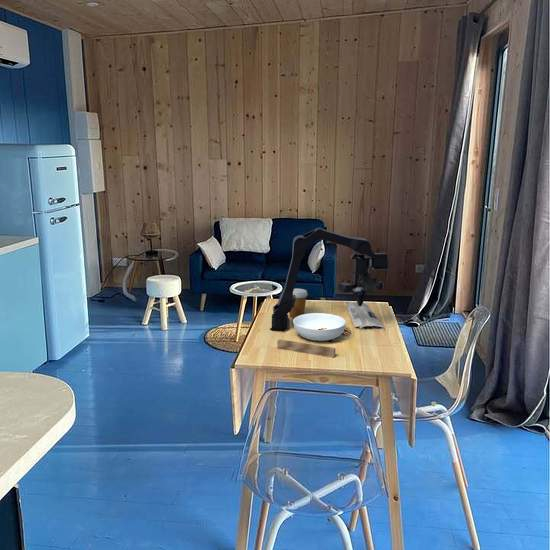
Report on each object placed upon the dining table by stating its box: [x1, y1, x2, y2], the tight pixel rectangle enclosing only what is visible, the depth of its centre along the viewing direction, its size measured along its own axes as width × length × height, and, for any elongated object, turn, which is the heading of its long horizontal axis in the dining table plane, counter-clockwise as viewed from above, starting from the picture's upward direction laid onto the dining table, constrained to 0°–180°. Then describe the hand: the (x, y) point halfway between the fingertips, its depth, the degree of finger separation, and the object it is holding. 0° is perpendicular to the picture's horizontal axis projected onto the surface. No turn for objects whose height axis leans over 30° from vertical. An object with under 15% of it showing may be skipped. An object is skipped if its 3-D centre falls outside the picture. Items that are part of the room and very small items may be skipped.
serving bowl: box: [292, 312, 347, 342], centre depth 208 cm, size 21×21×7 cm
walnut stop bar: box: [277, 339, 336, 359], centre depth 192 cm, size 22×2×3 cm, turn 66°
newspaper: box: [345, 300, 386, 331], centre depth 234 cm, size 35×12×4 cm, turn 2°
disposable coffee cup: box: [288, 288, 309, 320], centre depth 233 cm, size 10×10×12 cm
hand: (359, 306), depth 216 cm, fingers closed
